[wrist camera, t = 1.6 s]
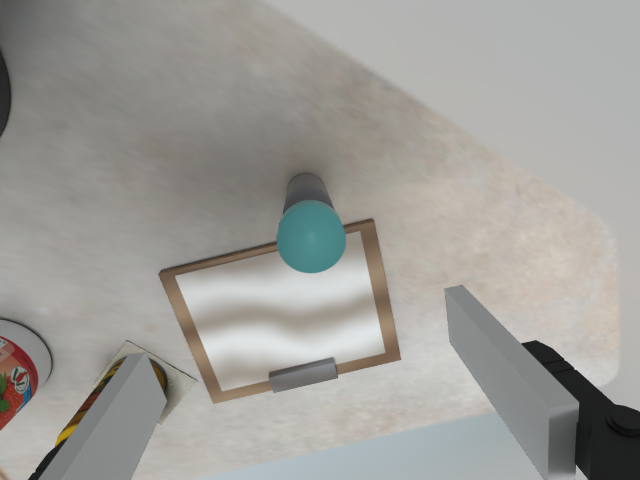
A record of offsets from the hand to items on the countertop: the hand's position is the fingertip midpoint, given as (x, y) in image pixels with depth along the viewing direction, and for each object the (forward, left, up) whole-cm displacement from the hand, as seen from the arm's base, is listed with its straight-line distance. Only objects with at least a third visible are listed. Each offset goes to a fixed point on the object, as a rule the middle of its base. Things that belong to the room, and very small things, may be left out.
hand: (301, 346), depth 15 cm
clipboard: (+9, -4, -19) cm, 22 cm away
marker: (-3, +1, -19) cm, 19 cm away
